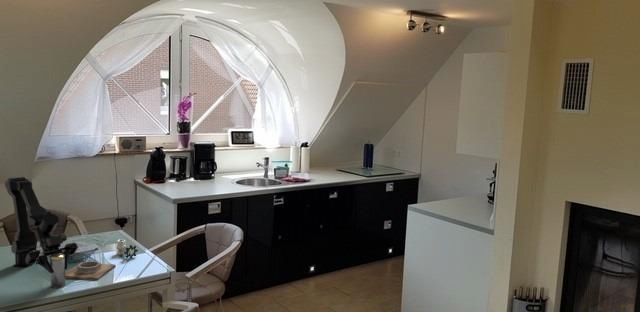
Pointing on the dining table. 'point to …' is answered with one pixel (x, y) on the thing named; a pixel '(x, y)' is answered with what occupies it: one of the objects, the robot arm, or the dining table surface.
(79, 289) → the dining table surface
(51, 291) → the dining table surface
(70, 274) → the flange board
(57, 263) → the gray can
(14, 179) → the robot arm
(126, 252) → the valve
